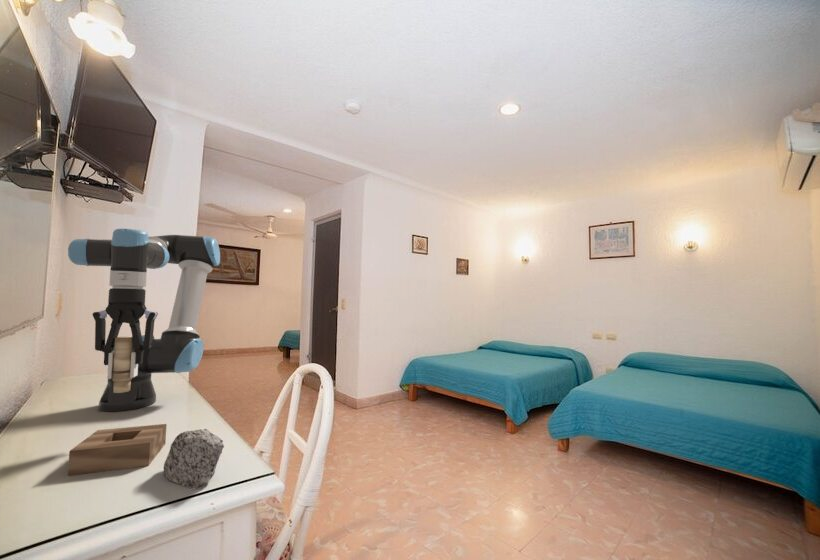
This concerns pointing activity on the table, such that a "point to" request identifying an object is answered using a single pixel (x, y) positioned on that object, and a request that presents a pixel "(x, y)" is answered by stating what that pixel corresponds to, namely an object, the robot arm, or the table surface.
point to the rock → (193, 458)
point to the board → (117, 449)
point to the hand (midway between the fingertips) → (122, 376)
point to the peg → (122, 363)
